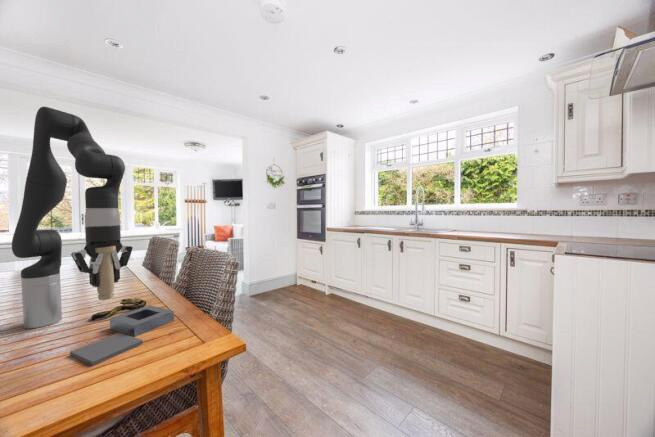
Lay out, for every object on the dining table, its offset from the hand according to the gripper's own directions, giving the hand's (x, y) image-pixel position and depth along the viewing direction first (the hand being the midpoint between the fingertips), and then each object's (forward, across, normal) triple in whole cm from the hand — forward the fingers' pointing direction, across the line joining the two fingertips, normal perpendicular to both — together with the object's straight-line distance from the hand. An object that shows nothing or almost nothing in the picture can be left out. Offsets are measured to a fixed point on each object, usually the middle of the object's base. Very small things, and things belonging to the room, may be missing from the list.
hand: (105, 284), depth 74 cm
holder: (+19, -14, -8) cm, 25 cm away
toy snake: (+20, -18, -29) cm, 39 cm away
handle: (+4, 0, 0) cm, 4 cm away
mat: (+19, 0, 0) cm, 19 cm away
